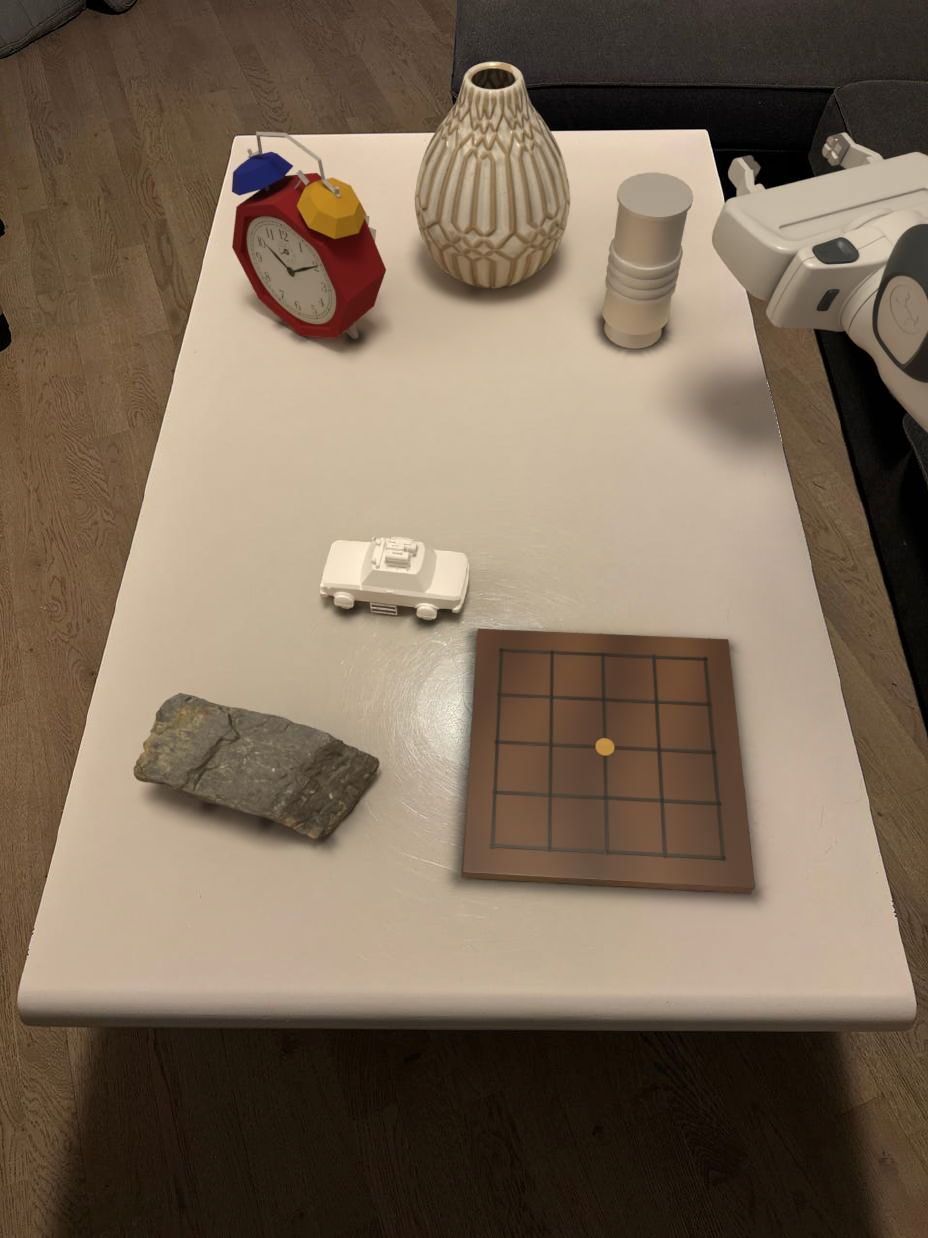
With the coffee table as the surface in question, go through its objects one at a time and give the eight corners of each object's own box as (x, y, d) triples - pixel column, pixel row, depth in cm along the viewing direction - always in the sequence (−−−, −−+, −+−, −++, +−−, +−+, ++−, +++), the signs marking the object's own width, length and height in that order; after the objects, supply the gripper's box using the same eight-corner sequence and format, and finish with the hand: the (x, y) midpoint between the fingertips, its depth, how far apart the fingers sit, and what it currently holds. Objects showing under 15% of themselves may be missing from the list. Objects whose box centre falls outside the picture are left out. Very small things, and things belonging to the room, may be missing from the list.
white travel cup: (680, 324, 97) (709, 189, 84) (642, 361, 94) (666, 227, 82) (624, 297, 99) (644, 162, 87) (586, 332, 97) (601, 198, 84)
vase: (543, 324, 97) (555, 135, 81) (398, 295, 100) (381, 107, 83) (580, 233, 106) (598, 45, 89) (445, 209, 108) (439, 22, 92)
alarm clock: (246, 309, 99) (198, 122, 83) (300, 266, 103) (265, 79, 86) (354, 365, 94) (327, 178, 78) (407, 318, 98) (391, 130, 81)
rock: (114, 836, 63) (129, 691, 66) (152, 844, 70) (164, 711, 73) (368, 832, 62) (371, 686, 65) (382, 841, 69) (384, 707, 72)
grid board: (725, 646, 76) (728, 638, 75) (751, 893, 65) (755, 888, 64) (477, 636, 77) (477, 627, 76) (462, 878, 66) (462, 872, 65)
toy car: (335, 556, 81) (324, 505, 76) (472, 571, 80) (472, 521, 75) (319, 613, 78) (307, 564, 73) (462, 630, 77) (460, 582, 71)
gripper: (1008, 208, 72) (905, 93, 77) (790, 270, 67) (694, 141, 72) (961, 271, 78) (867, 160, 83) (756, 332, 72) (669, 209, 77)
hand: (785, 152), depth 77 cm, fingers open, 8 cm apart
